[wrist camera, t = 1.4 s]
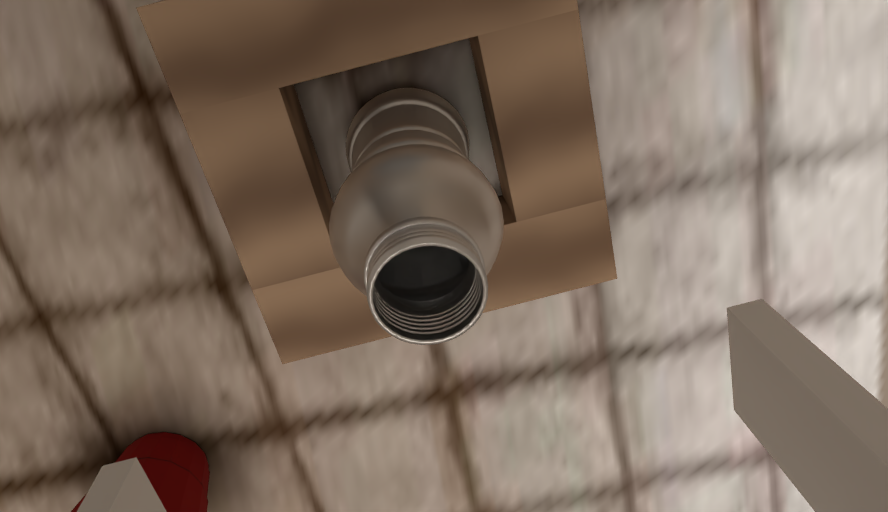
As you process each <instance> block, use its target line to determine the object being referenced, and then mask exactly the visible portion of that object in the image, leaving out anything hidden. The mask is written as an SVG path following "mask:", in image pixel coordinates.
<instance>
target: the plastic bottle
mask: <svg viewBox="0 0 888 512" xmlns="http://www.w3.org/2000/svg"><path fill="white" fill-rule="evenodd" d="M346 156H347V160H348V164H349V168H350V171H351V174H350V175H349V176H348V178H347V179H346V180H345V182H344V183H343V185H342V186H341V188H340V190H339V193H338V195H337V197H336V200H335V202H334V205H333V207H332V209H331V215H330V221H329V237H330V243H331V247H332V250H333V254H334V256H335V258H336V260H337V262H338V264H339V266H340V268H341V269H342V271H343V273H344V274H345V276H346V277H347V278H348V279H349V281H350V282H351V283H352V284H353V285H354V287H355V288H357V289H358V290H359V291H360V292H362V293H363V294H364V295H365V296H367V300H368V304H369V308H370V310H371V313H372V315H373V317H374V318H375V320H376V322H377V323H378V324H379V325H380V326H381V328H382V329H384V330H385V331H386V332H387V333H389V334H390V335H392V336H393V337H395V338H397V339H399V340H402V341H405V342H408V343H412V344H420V345H429V344H438V343H443V342H446V341H449V340H452V339H454V338H456V337H458V336H460V335H461V334H463V333H465V332H466V331H467V330H468V329H470V328H471V327H472V326H473V325H474V324H475V323H476V321H477V320H478V319H479V318H480V316H481V314H482V312H483V310H484V309H485V305H486V302H487V298H488V281H487V274H488V273H489V272H490V270H491V268H492V266H493V264H494V262H495V260H496V258H497V255H498V252H499V249H500V245H501V242H502V238H503V227H504V219H503V213H502V207H501V204H500V201H499V199H498V196H497V194H496V192H495V190H494V189H493V187H492V186H491V184H490V183H489V181H488V180H487V178H486V177H485V176H484V174H483V173H482V172H481V171H480V170H479V169H478V168H477V167H476V166H475V165H474V164H473V163H472V162H471V161H469V137H468V131H467V128H466V126H465V123H464V121H463V119H462V117H461V116H460V114H459V113H458V111H457V110H456V109H455V108H454V107H453V106H452V105H451V104H450V103H449V102H448V101H446V100H445V99H443V98H442V97H440V96H439V95H437V94H434V93H432V92H429V91H427V90H422V89H417V88H398V89H393V90H389V91H387V92H384V93H382V94H380V95H377V96H376V97H374V98H373V99H371V100H370V101H368V102H367V103H366V104H365V105H364V106H363V107H362V108H361V109H360V110H359V111H358V112H357V114H356V115H355V117H354V118H353V120H352V122H351V124H350V127H349V130H348V132H347V138H346Z"/></svg>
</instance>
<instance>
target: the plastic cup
mask: <svg viewBox="0 0 888 512" xmlns="http://www.w3.org/2000/svg"><path fill="white" fill-rule="evenodd" d="M135 457H137V459H138V461H139V463H140V465H141V466H142V468H143V470H144V472H145V474H146V475H147V477H148V479H149V481H150V483H151V484H152V486H153V488H154V490H155V492H156V493H157V495H158V497H159V499H160V501H161V502H162V504H163V506H164V508H165V510H166V511H167V512H207V505H208V500H207V491H208V482H209V473H210V472H209V469H208V468H209V465H208V462H207V458H206V455H205V453H204V452H203V451H202V450H201V448H200V447H199V446H198V445H197V444H196V443H195V442H193V441H191V440H189V439H188V438H186V437H184V436H182V435H178V434H172V433H167V432H161V433H153V434H147V435H145V436H143V437H141V438H139V439H137V440H135V441H134V442H133V443H132V444H131V445H129V446H128V447H127V448H126V449H125V451H124V452H123V453H122V454H121V456H120V457H119V458H118V459H117V461H116V462H120V461H124V460H128V459H132V458H135ZM116 462H115V463H116ZM87 493H88V492H87ZM85 496H86V495H85ZM85 496H84V497H83V498H82V499H81V501H80V502H79V503H78V504H77V505H76V506H75V508H74V509H73V510H72V511H71V512H77V510H78V509H79V507H80V505H81V503H82V501H83V500H84V498H85Z"/></svg>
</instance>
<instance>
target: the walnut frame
mask: <svg viewBox="0 0 888 512" xmlns="http://www.w3.org/2000/svg"><path fill="white" fill-rule="evenodd" d="M136 9H137V11H138V13H139V16H140V18H141V21H142V23H143V26H144V28H145V31H146V33H147V35H148V38H149V40H150V43H151V45H152V48H153V50H154V52H155V55H156V57H157V60H158V62H159V65H160V67H161V69H162V72H163V74H164V77H165V79H166V82H167V84H168V86H169V89H170V91H171V94H172V96H173V99H174V101H175V104H176V106H177V108H178V111H179V113H180V116H181V118H182V121H183V123H184V125H185V128H186V130H187V133H188V135H189V138H190V140H191V142H192V145H193V147H194V150H195V152H196V155H197V157H198V159H199V162H200V164H201V167H202V169H203V172H204V174H205V177H206V179H207V181H208V184H209V186H210V189H211V191H212V194H213V196H214V198H215V201H216V203H217V206H218V208H219V211H220V213H221V215H222V218H223V220H224V223H225V225H226V228H227V230H228V233H229V235H230V237H231V240H232V242H233V245H234V247H235V250H236V252H237V254H238V257H239V259H240V262H241V264H242V267H243V269H244V271H245V274H246V276H247V279H248V281H249V284H250V286H251V288H252V291H253V293H254V296H255V298H256V301H257V303H258V306H259V308H260V310H261V313H262V315H263V318H264V320H265V323H266V325H267V327H268V330H269V332H270V335H271V337H272V340H273V342H274V344H275V347H276V349H277V352H278V354H279V357H280V359H281V362H282V364H285V363H289V362H293V361H297V360H301V359H305V358H309V357H312V356H316V355H320V354H324V353H328V352H332V351H336V350H340V349H344V348H348V347H352V346H355V345H359V344H363V343H367V342H371V341H375V340H379V339H383V338H387V337H391V336H392V335H390V334H389V333H387V332H386V331H385V330H384V329H382V328H381V326H380V325H379V324H378V323H377V322H376V320H375V318H374V317H373V315H372V313H371V310H370V308H369V304H368V300H367V296H365V295H364V294H363V293H362V292H360V291H359V290H358V289H357V288H355V287H354V285H353V284H352V283H351V282H350V281H349V279H348V278H347V277H346V276H345V274H344V273H343V271H342V269H341V268H340V266H339V264H338V262H337V260H336V258H335V256H334V254H333V250H332V247H331V243H330V237H329V221H330V215H331V209H332V207H333V202H332V199H331V196H330V193H329V190H328V187H327V184H326V181H325V178H324V175H323V172H322V169H321V166H320V163H319V160H318V157H317V154H316V151H315V148H314V145H313V142H312V139H311V136H310V133H309V130H308V127H307V124H306V121H305V118H304V115H303V111H302V108H301V105H300V102H299V99H298V96H297V93H296V90H295V87H294V84H296V83H300V82H304V81H307V80H311V79H315V78H319V77H323V76H326V75H330V74H334V73H338V72H342V71H346V70H349V69H353V68H357V67H361V66H365V65H368V64H372V63H376V62H380V61H384V60H387V59H391V58H395V57H399V56H403V55H406V54H410V53H414V52H418V51H422V50H425V49H429V48H433V47H437V46H441V45H444V44H448V43H452V42H456V41H460V40H464V39H467V38H469V41H470V45H471V50H472V55H473V59H474V64H475V69H476V73H477V78H478V83H479V87H480V92H481V97H482V101H483V106H484V111H485V115H486V120H487V125H488V129H489V134H490V139H491V143H492V148H493V153H494V157H495V162H496V167H497V171H498V176H499V181H500V185H501V190H502V195H503V196H500V197H498V199H499V201H500V204H501V207H502V213H503V219H504V227H503V238H502V242H501V245H500V249H499V252H498V255H497V258H496V260H495V262H494V264H493V266H492V268H491V270H490V272H489V273H488V274H487V281H488V298H487V302H486V305H485V309H484V310H483V312H482V313H484V312H488V311H492V310H496V309H500V308H504V307H508V306H512V305H516V304H520V303H523V302H527V301H531V300H535V299H539V298H543V297H547V296H551V295H555V294H559V293H563V292H566V291H570V290H574V289H578V288H582V287H586V286H590V285H594V284H598V283H602V282H606V281H609V280H613V279H617V274H616V267H615V260H614V253H613V246H612V239H611V232H610V225H609V219H608V212H607V205H606V198H605V191H604V184H603V177H602V170H601V163H600V156H599V149H598V143H597V136H596V129H595V122H594V115H593V108H592V101H591V94H590V87H589V80H588V73H587V67H586V60H585V53H584V46H583V39H582V32H581V25H580V18H579V11H578V4H577V0H164V1H160V2H156V3H153V4H149V5H145V6H141V7H138V8H136Z"/></svg>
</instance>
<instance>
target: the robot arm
mask: <svg viewBox="0 0 888 512" xmlns="http://www.w3.org/2000/svg"><path fill="white" fill-rule="evenodd" d="M727 317H728V331H729V345H730V359H731V373H732V388H733V402H734V410H735V412H736V413H737V414H738V415H739V417H740V418H741V419H742V420H743V422H744V423H745V424H746V425H747V427H748V428H749V429H750V430H751V432H752V433H753V434H754V435H755V437H756V438H757V439H758V440H759V442H760V443H761V444H762V445H763V447H764V448H765V449H766V450H767V452H768V453H769V454H770V455H771V457H772V458H773V459H774V460H775V462H776V463H777V464H778V465H779V467H780V468H781V469H782V470H783V472H784V473H785V474H786V476H787V477H788V478H789V479H790V481H791V482H792V483H793V484H794V486H795V487H796V488H797V489H798V491H799V492H800V493H801V494H802V496H803V497H804V498H805V499H806V501H807V502H808V503H809V504H810V506H811V507H812V508H813V509H814V511H815V512H888V408H887V407H885V406H884V405H883V404H882V403H881V402H880V401H878V400H877V399H876V398H875V397H874V396H873V395H872V394H870V393H869V392H868V391H867V390H866V389H865V388H864V387H862V386H861V385H860V384H859V383H858V382H857V381H856V380H854V379H853V378H852V377H851V376H850V375H849V374H847V373H846V372H845V371H844V370H843V369H842V368H841V367H839V366H838V365H837V364H836V363H835V362H834V361H833V360H831V359H830V358H829V357H828V356H827V355H826V354H825V353H823V352H822V351H821V350H820V349H819V348H818V347H817V346H815V345H814V344H813V343H812V342H811V341H810V340H808V339H807V338H806V337H805V336H804V335H803V334H802V333H800V332H799V331H798V330H797V329H796V328H795V327H794V326H792V325H791V324H790V323H789V322H788V321H787V320H786V319H784V318H783V317H782V316H781V315H780V314H779V313H777V312H776V311H775V310H774V309H773V308H772V307H771V306H769V305H768V304H767V303H766V302H765V301H764V300H763V299H760V300H756V301H752V302H748V303H744V304H740V305H736V306H732V307H728V308H727ZM77 512H167V511H166V510H165V508H164V506H163V504H162V502H161V501H160V499H159V497H158V495H157V493H156V492H155V490H154V488H153V486H152V484H151V483H150V481H149V479H148V477H147V475H146V474H145V472H144V470H143V468H142V466H141V465H140V463H139V461H138V459H137V457H135V458H132V459H128V460H124V461H120V462H116V463H112V464H108V465H104V466H102V468H101V469H100V471H99V473H98V475H97V477H96V478H95V480H94V482H93V484H92V485H91V487H90V489H89V491H88V493H87V494H86V496H85V498H84V500H83V501H82V503H81V505H80V507H79V509H78V510H77Z"/></svg>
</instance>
